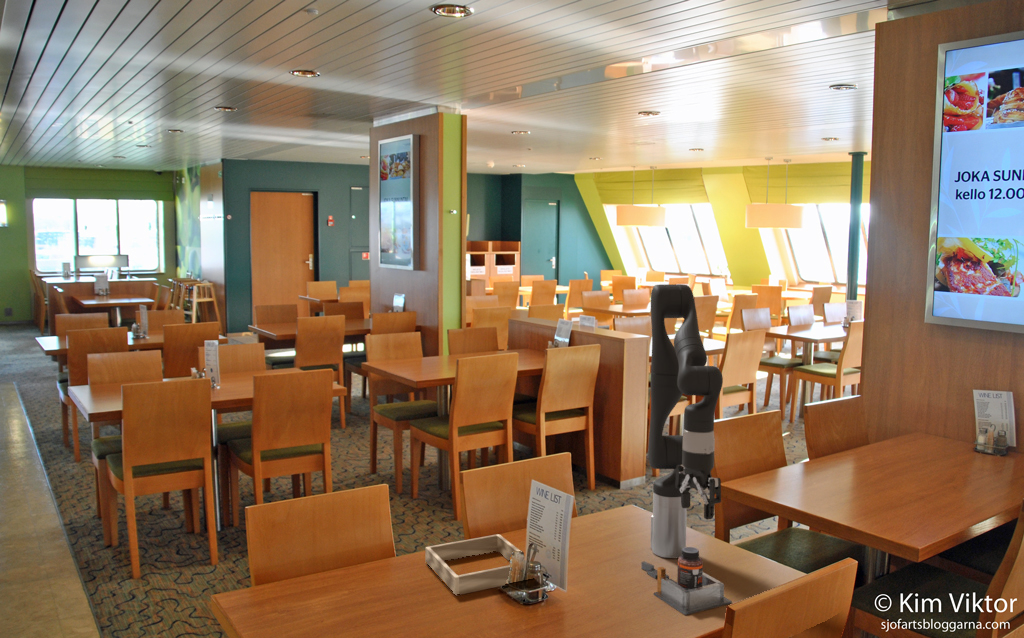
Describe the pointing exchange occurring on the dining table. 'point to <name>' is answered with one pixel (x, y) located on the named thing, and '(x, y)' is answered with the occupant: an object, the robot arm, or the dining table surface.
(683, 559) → the supplement bottle
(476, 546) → the frame
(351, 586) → the dining table surface
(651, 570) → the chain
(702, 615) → the dining table surface
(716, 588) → the keeper
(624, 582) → the dining table surface
